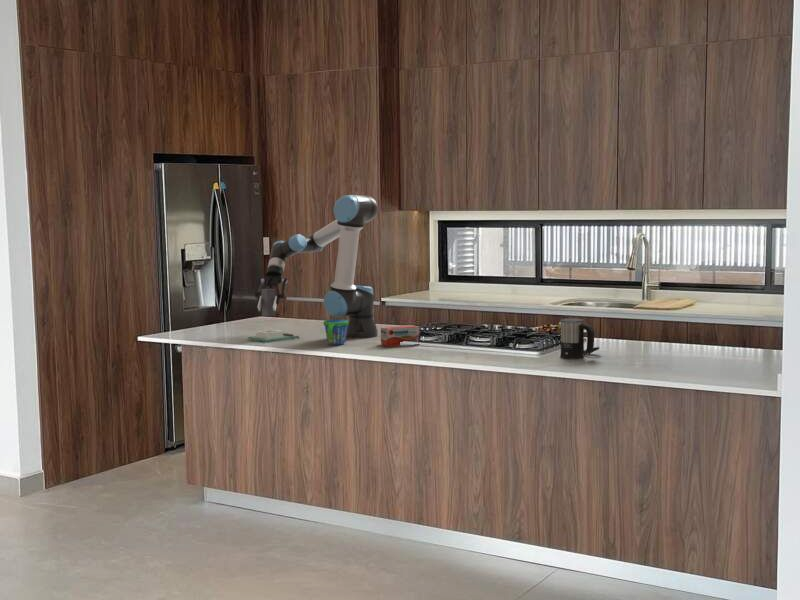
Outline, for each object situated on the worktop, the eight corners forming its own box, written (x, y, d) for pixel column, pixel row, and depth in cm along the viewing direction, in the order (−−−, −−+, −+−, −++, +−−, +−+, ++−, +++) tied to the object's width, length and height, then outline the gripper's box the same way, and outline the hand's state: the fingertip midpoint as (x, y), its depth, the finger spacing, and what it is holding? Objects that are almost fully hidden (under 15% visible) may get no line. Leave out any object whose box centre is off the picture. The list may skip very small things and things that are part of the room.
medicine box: (413, 342, 419) (412, 324, 418) (420, 345, 411) (420, 326, 411) (380, 345, 413) (380, 326, 413) (387, 347, 406) (386, 328, 405)
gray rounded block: (275, 315, 432) (275, 289, 430) (267, 316, 429) (267, 289, 427) (270, 314, 435) (269, 288, 434) (261, 315, 432) (261, 289, 431)
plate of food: (584, 328, 457) (584, 316, 457) (598, 336, 429) (598, 323, 429) (526, 331, 456) (525, 319, 456) (536, 339, 429) (535, 326, 428)
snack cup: (339, 347, 407) (339, 323, 406) (317, 346, 411) (316, 322, 410) (354, 342, 421) (354, 319, 420) (333, 341, 425) (332, 318, 424)
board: (299, 338, 435) (298, 330, 434) (265, 342, 423) (265, 334, 422) (281, 335, 445) (280, 327, 445) (248, 339, 433) (247, 331, 433)
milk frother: (557, 358, 372) (557, 320, 371) (565, 352, 387) (565, 316, 385) (594, 360, 367) (594, 322, 366) (601, 354, 382) (601, 317, 380)
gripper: (297, 275, 444) (289, 314, 429) (256, 275, 446) (247, 314, 432) (294, 264, 438) (285, 304, 424) (253, 264, 441) (243, 303, 426)
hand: (266, 309), depth 428 cm, fingers closed on gray rounded block, 6 cm apart
